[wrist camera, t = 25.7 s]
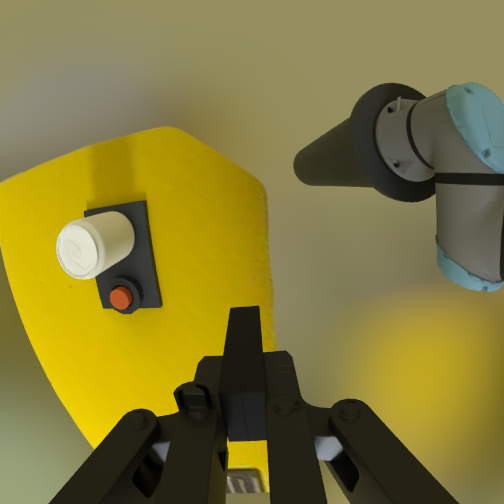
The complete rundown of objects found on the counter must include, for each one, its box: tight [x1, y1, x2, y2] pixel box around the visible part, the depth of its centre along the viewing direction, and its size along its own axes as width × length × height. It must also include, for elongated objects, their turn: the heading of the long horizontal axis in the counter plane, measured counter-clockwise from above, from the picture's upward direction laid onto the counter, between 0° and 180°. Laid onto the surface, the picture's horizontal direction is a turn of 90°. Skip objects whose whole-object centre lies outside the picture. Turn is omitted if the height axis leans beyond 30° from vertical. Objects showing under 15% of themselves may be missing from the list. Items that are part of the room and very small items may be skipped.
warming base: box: [84, 201, 162, 314], centre depth 42 cm, size 18×12×3 cm, turn 5°
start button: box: [110, 286, 132, 310], centre depth 42 cm, size 4×4×2 cm
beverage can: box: [56, 211, 135, 279], centre depth 36 cm, size 8×8×12 cm
